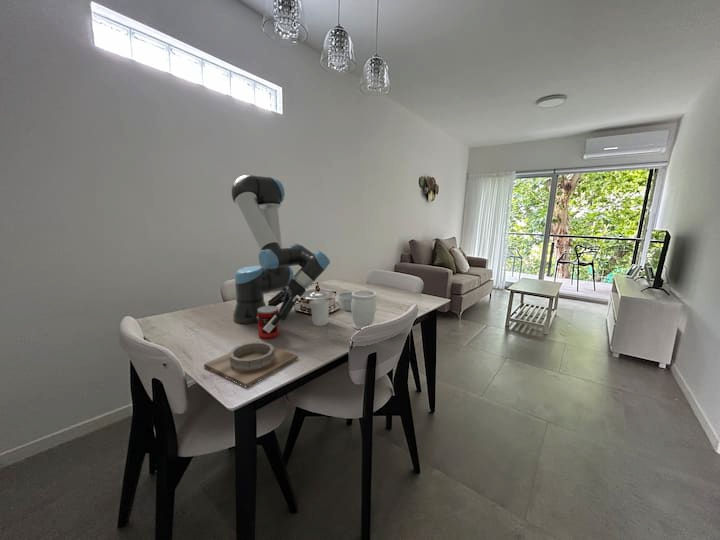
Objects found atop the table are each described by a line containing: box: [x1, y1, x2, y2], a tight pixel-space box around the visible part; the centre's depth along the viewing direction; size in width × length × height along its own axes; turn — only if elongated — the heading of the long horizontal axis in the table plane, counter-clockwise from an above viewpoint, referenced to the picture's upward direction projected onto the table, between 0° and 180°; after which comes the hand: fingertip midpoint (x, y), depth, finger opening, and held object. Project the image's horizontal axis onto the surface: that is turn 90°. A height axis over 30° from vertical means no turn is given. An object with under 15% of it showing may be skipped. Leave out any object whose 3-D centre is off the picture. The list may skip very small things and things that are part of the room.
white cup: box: [310, 298, 330, 327], centre depth 128 cm, size 8×8×10 cm
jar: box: [350, 290, 377, 331], centre depth 125 cm, size 11×10×15 cm
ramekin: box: [337, 291, 353, 312], centre depth 151 cm, size 13×13×7 cm
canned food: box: [257, 305, 280, 340], centre depth 114 cm, size 8×8×11 cm
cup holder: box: [203, 341, 299, 388], centre depth 93 cm, size 20×20×4 cm
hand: (262, 325), depth 113 cm, fingers open, 13 cm apart
